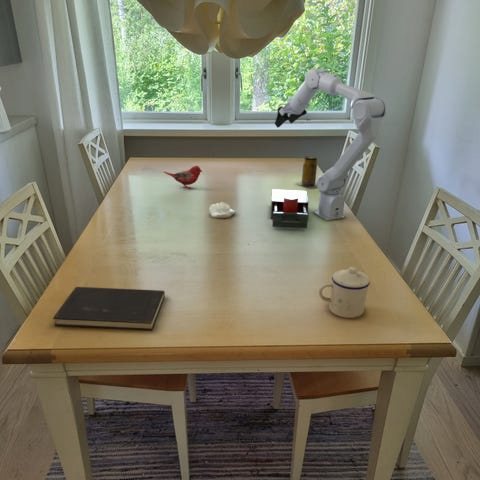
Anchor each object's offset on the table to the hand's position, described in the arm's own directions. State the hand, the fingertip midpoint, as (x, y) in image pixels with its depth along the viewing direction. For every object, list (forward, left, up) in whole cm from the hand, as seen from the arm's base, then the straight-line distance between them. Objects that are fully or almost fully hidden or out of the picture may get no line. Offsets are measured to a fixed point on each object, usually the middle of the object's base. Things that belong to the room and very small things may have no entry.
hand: (283, 123), depth 184 cm
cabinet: (-20, +6, -29) cm, 35 cm away
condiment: (+9, -21, -29) cm, 37 cm away
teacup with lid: (-88, +29, -29) cm, 97 cm away
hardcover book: (-67, +82, -29) cm, 110 cm away
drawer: (-31, +12, -28) cm, 43 cm away
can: (-30, +12, -27) cm, 42 cm away
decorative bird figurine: (+24, +33, -29) cm, 50 cm away
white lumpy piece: (-12, +30, -29) cm, 43 cm away
